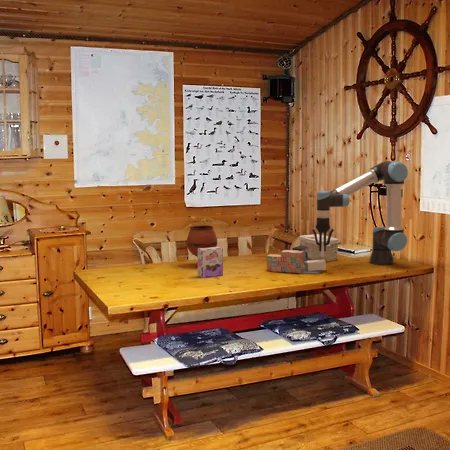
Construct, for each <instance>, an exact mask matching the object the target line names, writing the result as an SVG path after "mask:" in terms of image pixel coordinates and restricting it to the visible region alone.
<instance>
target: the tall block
mask: <svg viewBox="0 0 450 450" xmlns="http://www.w3.org/2000/svg"><path fill="white" fill-rule="evenodd" d="M326 262H327V261H326ZM326 262H325V260H311V259H310V260H308V261H304V267H305V271H316V270H322V271H325V270H327V265H326V264H327V263H326Z"/></svg>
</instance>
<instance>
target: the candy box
mask: <svg viewBox="0 0 450 450" xmlns="http://www.w3.org/2000/svg"><path fill="white" fill-rule="evenodd" d="M223 253H224V248H223V247H220V246H217V247H211V248H198V259H197V262H198V267H197V277H199V278H201V279H202V278H203V279H206V278H212V277H221V276H224V263H223V262H224V261H223V260H224V259H223V258H224V255H223Z"/></svg>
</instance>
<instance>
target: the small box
mask: <svg viewBox="0 0 450 450" xmlns="http://www.w3.org/2000/svg"><path fill="white" fill-rule="evenodd" d="M291 249H292V250H298V251H304V261H309V259H308V247H306V246H300V245H299V246H294V247H292V248H291Z"/></svg>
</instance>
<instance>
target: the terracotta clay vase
mask: <svg viewBox="0 0 450 450" xmlns="http://www.w3.org/2000/svg"><path fill="white" fill-rule="evenodd" d="M189 228H190V229H189V232H188V234H187V238H186V247H187V249H188V250H187V251H189V252H190V253H191V254H192V255H193V256H195V257H197V260H198V248H211V247H218V237H217V235H216V232H215V230H214V225H209V224H207V225H205V224H204V225H203V224H202V225H191V226H190V227H189ZM194 266H195V268H196V267H197V268H198V261H197V262H196V263H195V265H194Z"/></svg>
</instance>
